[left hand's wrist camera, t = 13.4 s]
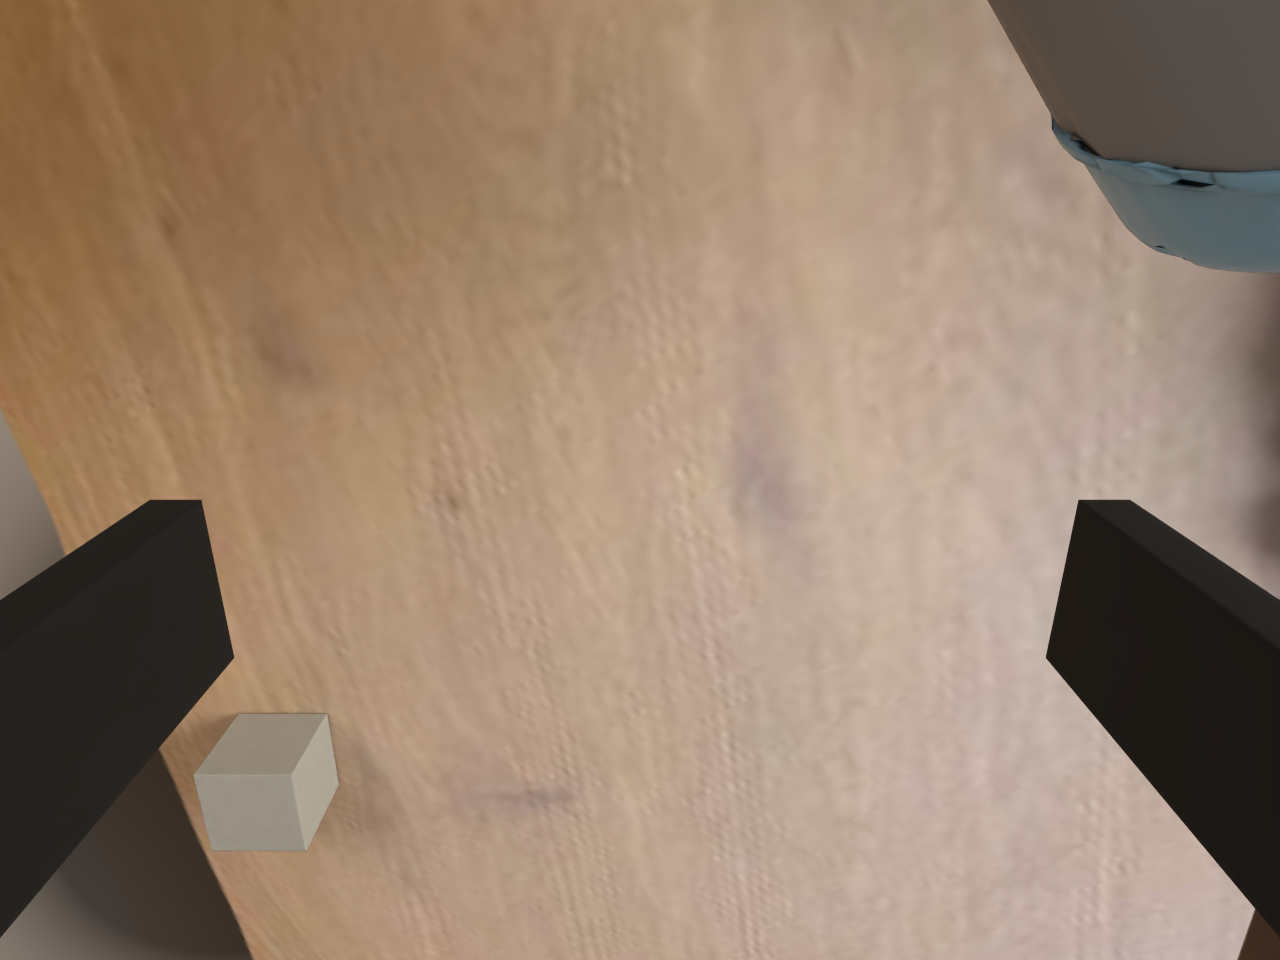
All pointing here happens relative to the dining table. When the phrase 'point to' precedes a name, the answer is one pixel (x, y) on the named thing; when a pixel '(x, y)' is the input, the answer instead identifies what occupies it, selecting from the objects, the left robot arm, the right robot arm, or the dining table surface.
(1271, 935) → the bar
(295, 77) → the dining table surface
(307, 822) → the rubber block
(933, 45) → the dining table surface
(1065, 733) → the dining table surface
